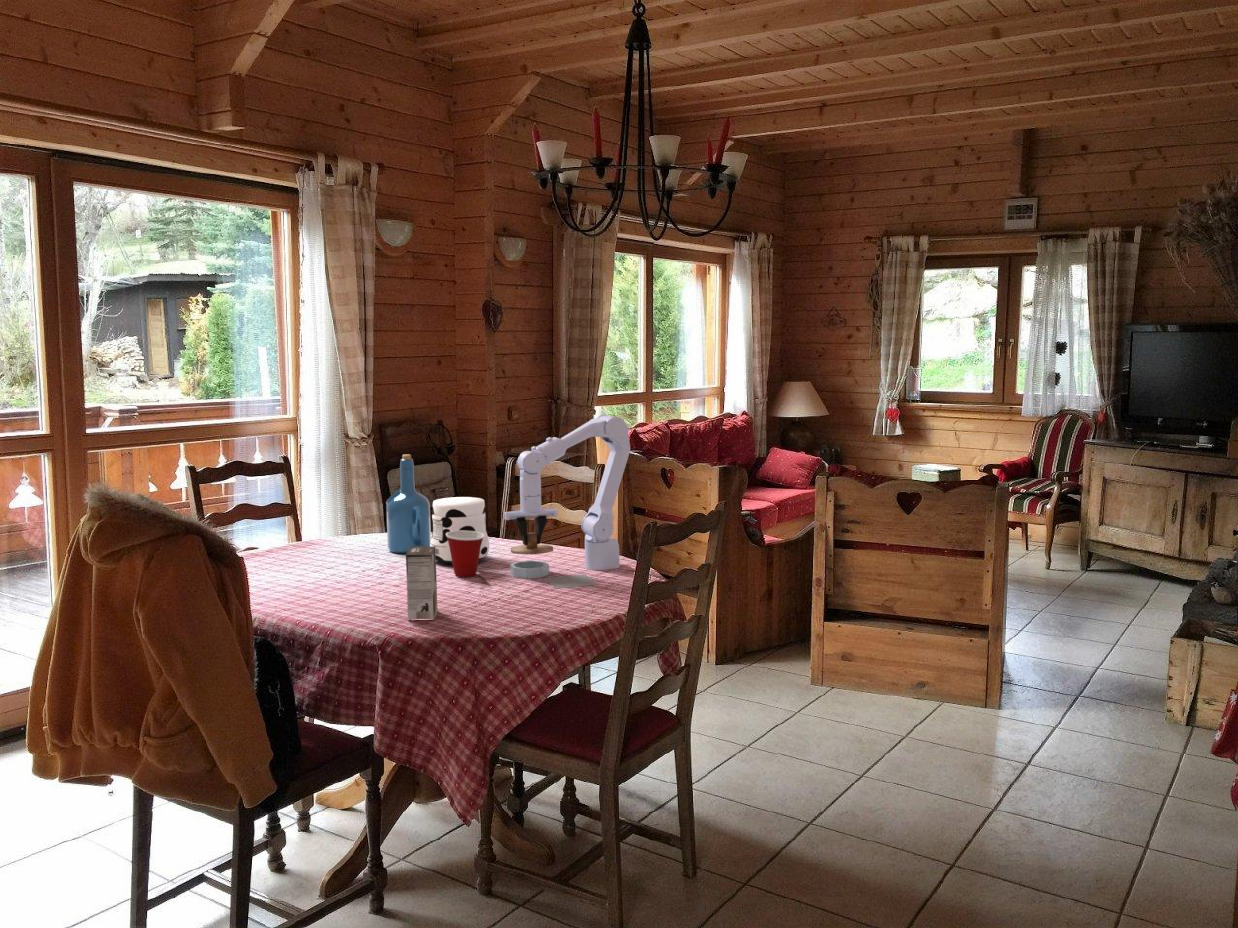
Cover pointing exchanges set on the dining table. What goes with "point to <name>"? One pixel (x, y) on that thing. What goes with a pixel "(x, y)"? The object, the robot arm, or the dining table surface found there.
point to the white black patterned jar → (457, 523)
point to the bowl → (529, 569)
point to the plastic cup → (465, 551)
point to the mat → (570, 581)
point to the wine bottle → (407, 513)
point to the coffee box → (421, 582)
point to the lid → (532, 546)
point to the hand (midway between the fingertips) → (531, 543)
